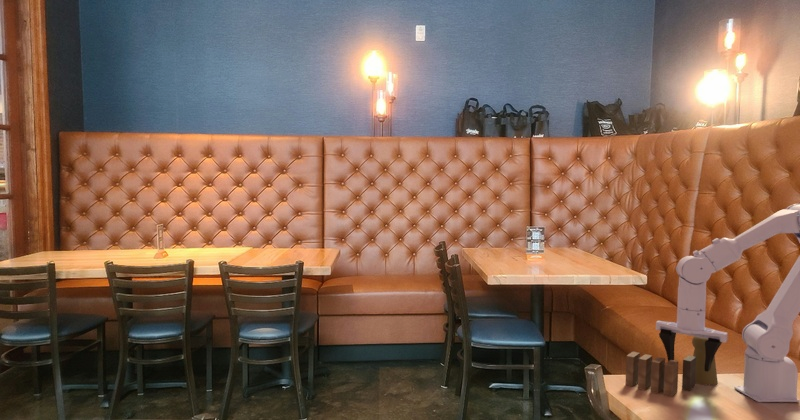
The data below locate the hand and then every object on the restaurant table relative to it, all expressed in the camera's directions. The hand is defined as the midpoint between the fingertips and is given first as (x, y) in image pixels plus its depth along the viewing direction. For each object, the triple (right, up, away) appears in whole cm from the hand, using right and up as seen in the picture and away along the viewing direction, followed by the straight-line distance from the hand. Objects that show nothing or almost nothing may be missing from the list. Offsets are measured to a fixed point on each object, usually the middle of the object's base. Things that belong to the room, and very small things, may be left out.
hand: (688, 366), depth 121 cm
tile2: (-6, -5, -3) cm, 8 cm away
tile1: (0, -5, 0) cm, 5 cm away
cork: (+6, -5, +5) cm, 9 cm away
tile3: (-8, -5, -1) cm, 9 cm away
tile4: (-10, -5, +1) cm, 11 cm away
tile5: (-12, -5, +3) cm, 13 cm away
